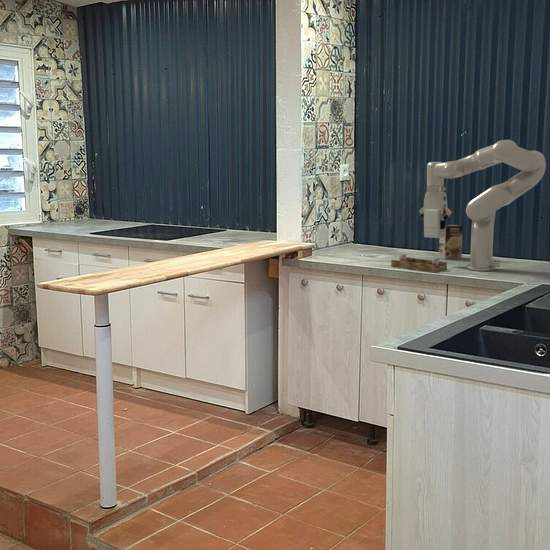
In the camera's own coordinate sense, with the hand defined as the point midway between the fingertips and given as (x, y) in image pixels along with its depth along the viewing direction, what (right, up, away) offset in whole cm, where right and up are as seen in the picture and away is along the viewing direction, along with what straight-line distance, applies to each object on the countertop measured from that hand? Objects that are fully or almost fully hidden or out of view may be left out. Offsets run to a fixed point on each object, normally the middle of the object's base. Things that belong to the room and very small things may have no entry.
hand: (434, 228), depth 358 cm
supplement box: (0, -4, +1) cm, 4 cm away
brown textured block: (-8, -18, -5) cm, 21 cm away
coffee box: (+12, -13, +21) cm, 27 cm away
